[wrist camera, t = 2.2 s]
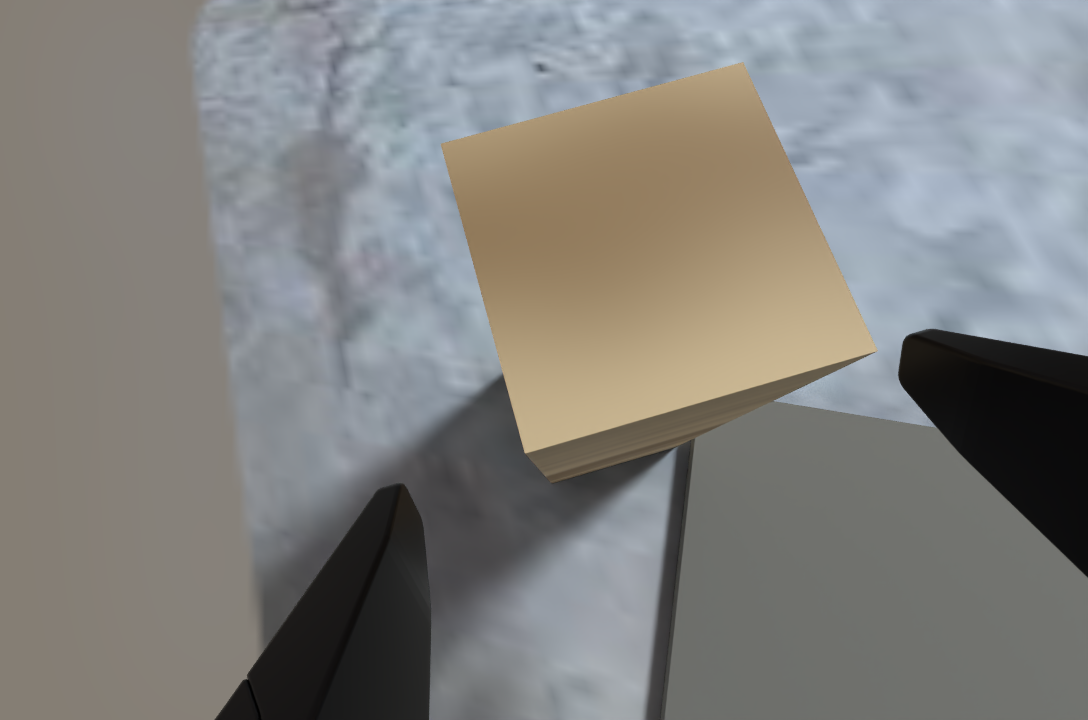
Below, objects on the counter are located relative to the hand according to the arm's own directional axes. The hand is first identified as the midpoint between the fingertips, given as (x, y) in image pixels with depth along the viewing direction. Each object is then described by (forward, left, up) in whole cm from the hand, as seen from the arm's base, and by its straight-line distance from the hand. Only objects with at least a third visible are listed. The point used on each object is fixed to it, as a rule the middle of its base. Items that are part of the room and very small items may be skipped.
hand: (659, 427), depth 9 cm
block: (+2, +1, -10) cm, 10 cm away
